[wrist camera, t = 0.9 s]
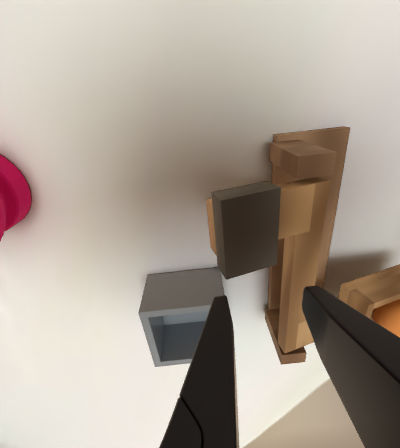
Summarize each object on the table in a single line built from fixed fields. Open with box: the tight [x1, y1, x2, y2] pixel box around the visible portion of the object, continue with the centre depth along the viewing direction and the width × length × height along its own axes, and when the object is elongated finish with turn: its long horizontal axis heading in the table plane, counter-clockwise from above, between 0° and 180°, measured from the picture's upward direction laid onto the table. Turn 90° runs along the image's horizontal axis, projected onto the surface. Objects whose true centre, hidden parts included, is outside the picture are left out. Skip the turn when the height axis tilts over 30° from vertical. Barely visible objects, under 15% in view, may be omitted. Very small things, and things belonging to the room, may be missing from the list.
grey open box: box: [139, 267, 224, 367], centre depth 22 cm, size 7×7×4 cm
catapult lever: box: [206, 177, 400, 353], centre depth 17 cm, size 17×16×3 cm
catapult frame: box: [265, 127, 350, 364], centre depth 19 cm, size 6×18×6 cm, turn 6°
